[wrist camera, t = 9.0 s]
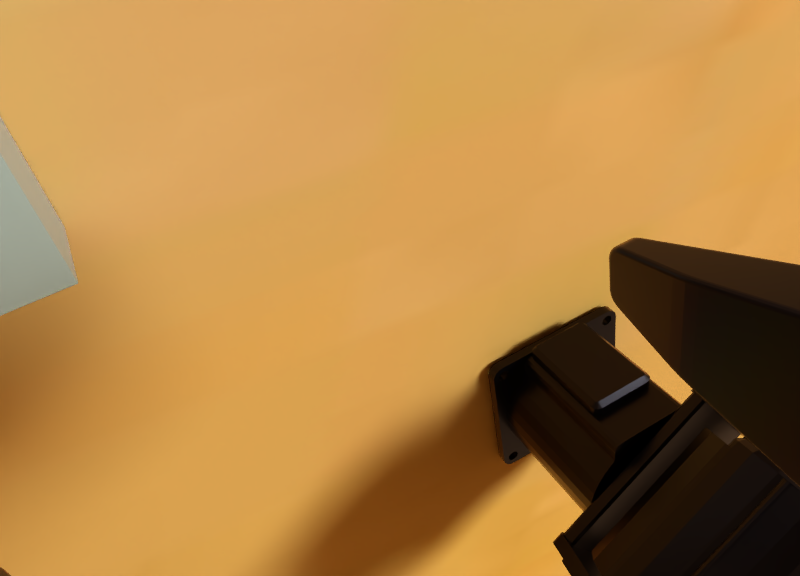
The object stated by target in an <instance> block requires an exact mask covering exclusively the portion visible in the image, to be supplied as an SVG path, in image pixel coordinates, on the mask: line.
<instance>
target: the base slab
mask: <svg viewBox="0 0 800 576" xmlns="http://www.w3.org/2000/svg"><path fill="white" fill-rule="evenodd" d="M75 284H78V280H77V275H76V271H75V267H74V263H73V259H72V255H71V251H70V247H69V243H68V239H67V235H66V231H65V227H64V225H63V224H62V222H61V220H60V218H59V217H58V215H57V213H56V212H55V210H54V208H53V206H52V205H51V203H50V201H49V199H48V198H47V196H46V194H45V193H44V191H43V189H42V187H41V186H40V184H39V182H38V181H37V179H36V177H35V175H34V174H33V172H32V170H31V168H30V167H29V165H28V163H27V162H26V160H25V158H24V156H23V155H22V153H21V151H20V149H19V148H18V146H17V144H16V143H15V141H14V139H13V137H12V136H11V134H10V132H9V131H8V129H7V127H6V125H5V124H4V122H3V120H2V118H1V117H0V316H1V315H3V314H6V313H8V312H11V311H13V310H15V309H18V308H20V307H23V306H25V305H27V304H30V303H32V302H35V301H37V300H39V299H42V298H44V297H47V296H49V295H51V294H54V293H56V292H59V291H61V290H63V289H66V288H68V287H71V286H73V285H75Z"/></svg>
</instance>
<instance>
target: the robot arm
mask: <svg viewBox="0 0 800 576" xmlns="http://www.w3.org/2000/svg"><path fill="white" fill-rule="evenodd" d="M609 269H610V292H611V296H612V298H613V301H614V302H615V304H616V305H617V307H618V308H619V309H620V310H621V311H622V312H623V313H624V315H625V316H626V317H627V318H628V319H629V320H630V321H631V323H632V324H633V325H634V326H635V327H636V328H637V329H638V330H639V332H640V333H641V334H642V335H643V336H644V337H645V338H646V340H647V341H648V342H649V343H650V344H651V345H652V346H653V347H654V349H655V350H656V351H657V352H658V353H659V354H660V355H661V357H662V358H663V359H664V360H665V361H666V362H667V363H668V365H669V366H670V367H671V368H672V369H673V370H674V371H675V372H676V373H677V374H678V375H679V376H680V377H681V378H682V379H683V380H684V381H685V382H686V383H687V384H688V385H689V386H690V387H691V388H692V390H691V391H692V392H693V393H692V394H691V395H690V396H689V397H688V398H687V399H686V400H685V401H684V403H683V404H680V403H679V402H678V401H677V400H675V399H674V398H673V397H672V396H671V395H669V394H668V393H667V392H666V391H664V390H663V389H662V388H661V387H660V386H658V385H657V384H656V383H655V382H653V381H652V380H651V379H650V376H649V375H648V374H647V373H646V372H645V371H644V370H642V369H641V368H640V367H639V366H637V365H636V364H635V363H634V362H632V361H631V360H630V359H629V358H628V357H626V356H625V355H624V354H623V353H621V352H620V351H619V350H618V349H616V348H615V322H616V315H615V312H613V311H612V310H611V309H610V308H608V307H606V306H604V307H601V308H599V309H597V310H595V311H593V312H591V313H589V314H588V315H586V316H584V317H582V318H580V319H578V320H576V321H574V322H573V323H571V324H569V325H567V326H565V327H563V328H561V329H559V330H558V331H556V332H554V333H552V334H550V335H548V336H546V337H544V338H543V339H541V340H539V341H537V342H535V343H533V344H531V345H529V346H527V347H526V348H524V349H522V350H520V351H518V352H516V353H514V354H512V355H511V356H509V357H507V358H505V359H503V360H501V361H499V362H497V363H496V364H495V365H493V367H492V368H491V369H490V371H489V381H490V388H491V396H492V403H493V410H494V417H495V425H496V432H497V439H498V446H499V454H500V457H501V458H502V459H503V461H504V462H505V463H507V464H511V463H513V462H515V461H517V460H519V459H520V458H522V457H524V456H526V455H527V454H529V453H532V454H533V455H534V457H535V458H536V459H537V460H538V461H539V462H540V463H541V464H542V466H543V467H544V468H545V469H546V470H547V471H548V472H549V473H550V474H551V476H552V477H553V478H554V479H555V480H556V481H557V482H558V483H559V485H560V486H561V487H562V488H563V489H564V490H565V491H566V492H567V493H568V495H569V496H570V497H571V498H572V499H573V500H574V501H575V502H576V504H577V505H578V506H579V507H580V508H581V509H582V510H583V511H584V512H583V513H582V514H581V515H580V517H579V518H578V519H577V520H576V521H575V522H574V523H573V524H572V525H571V526H570V527H569V529H568V530H567V531H566V532H565V533H563V532H562V533H561V534H560V535H559V536H558V537H557V538H556V539H555V540H554V542H553V543H554V545H555V546H556V548H557V550H558V551H559V553H560V554H561V556H562V557H563V560H562V562H563V564H564V565H565V567H566V568H567V570H568V571H569V573H570V575H571V576H800V265H797V264H791V263H785V262H779V261H773V260H767V259H761V258H756V257H750V256H744V255H738V254H732V253H726V252H720V251H714V250H708V249H702V248H696V247H690V246H684V245H678V244H673V243H667V242H661V241H655V240H649V239H643V238H632V239H629V240H627V241H626V242H624V243H622V244H620V245H618V246H616V247H614V248H613V249H612V250H611V252H610V255H609ZM740 434H741V435H742V436H744V438H737V437H738V436H739V435H740ZM0 576H11V575H9V574H8V573H7V572H6V571H5V570H4V569H2V568H1V567H0Z"/></svg>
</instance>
